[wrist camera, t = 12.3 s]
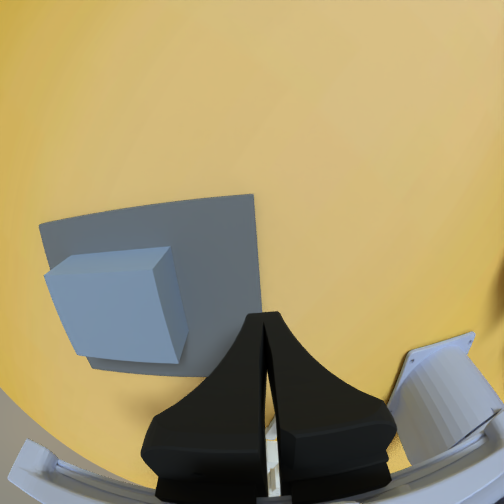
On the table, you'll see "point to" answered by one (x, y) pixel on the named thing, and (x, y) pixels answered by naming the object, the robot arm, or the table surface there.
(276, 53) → the table surface
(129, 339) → the block
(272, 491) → the modular blocks
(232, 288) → the mat
